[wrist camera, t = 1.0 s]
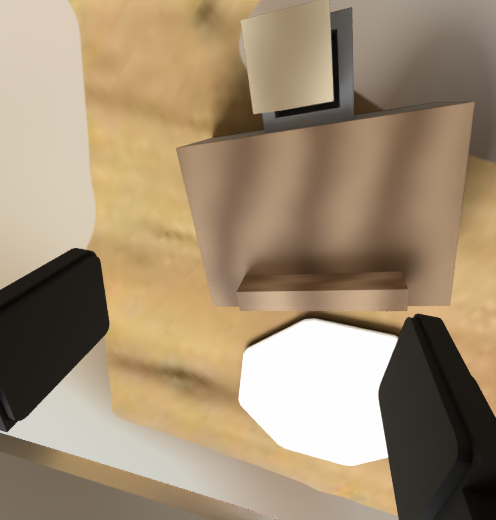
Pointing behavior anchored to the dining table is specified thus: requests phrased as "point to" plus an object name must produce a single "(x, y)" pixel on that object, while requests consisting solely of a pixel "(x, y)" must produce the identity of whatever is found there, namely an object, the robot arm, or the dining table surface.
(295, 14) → the rectangular block
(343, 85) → the toolbox
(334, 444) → the plate
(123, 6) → the dining table surface
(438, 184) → the lid
